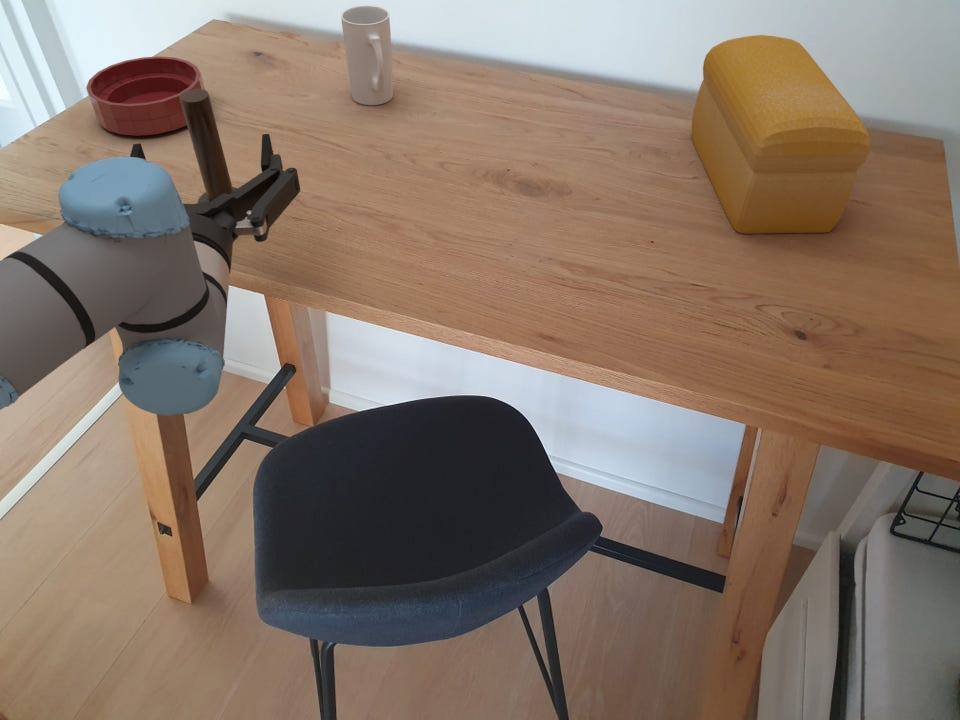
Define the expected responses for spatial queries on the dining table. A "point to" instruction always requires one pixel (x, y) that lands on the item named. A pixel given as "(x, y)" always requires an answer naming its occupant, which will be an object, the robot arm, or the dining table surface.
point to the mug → (368, 54)
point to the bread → (776, 137)
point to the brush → (206, 144)
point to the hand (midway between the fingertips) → (205, 149)
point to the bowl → (143, 94)
